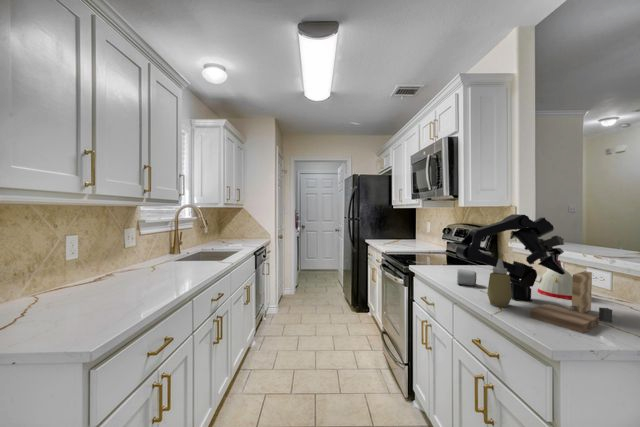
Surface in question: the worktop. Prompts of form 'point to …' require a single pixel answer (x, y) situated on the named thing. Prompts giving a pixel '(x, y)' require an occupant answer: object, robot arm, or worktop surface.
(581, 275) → the light wooden board
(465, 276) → the ceramic mug
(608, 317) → the stop block
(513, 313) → the worktop surface
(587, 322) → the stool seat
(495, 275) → the squeeze bottle
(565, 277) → the kitchen timer
